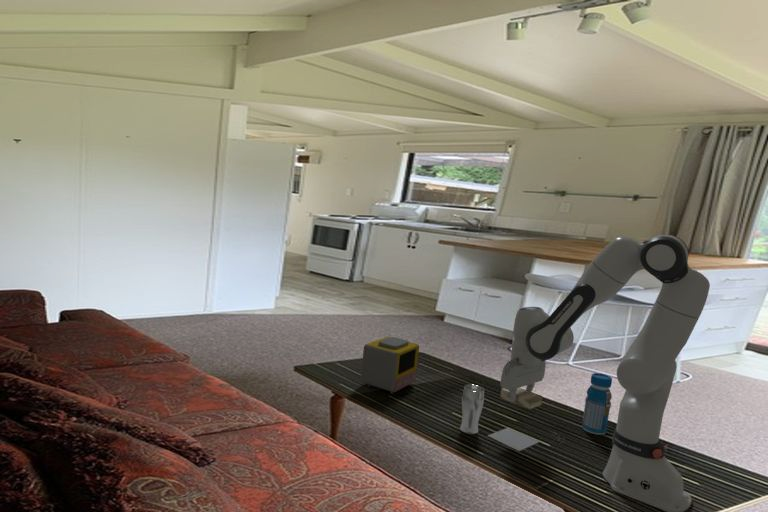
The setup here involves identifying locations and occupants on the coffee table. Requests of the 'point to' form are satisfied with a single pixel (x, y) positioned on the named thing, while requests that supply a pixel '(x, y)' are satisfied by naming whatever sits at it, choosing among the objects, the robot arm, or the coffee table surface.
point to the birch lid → (523, 398)
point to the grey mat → (513, 439)
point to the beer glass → (471, 408)
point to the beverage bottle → (597, 404)
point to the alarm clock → (389, 363)
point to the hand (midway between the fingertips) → (520, 398)
